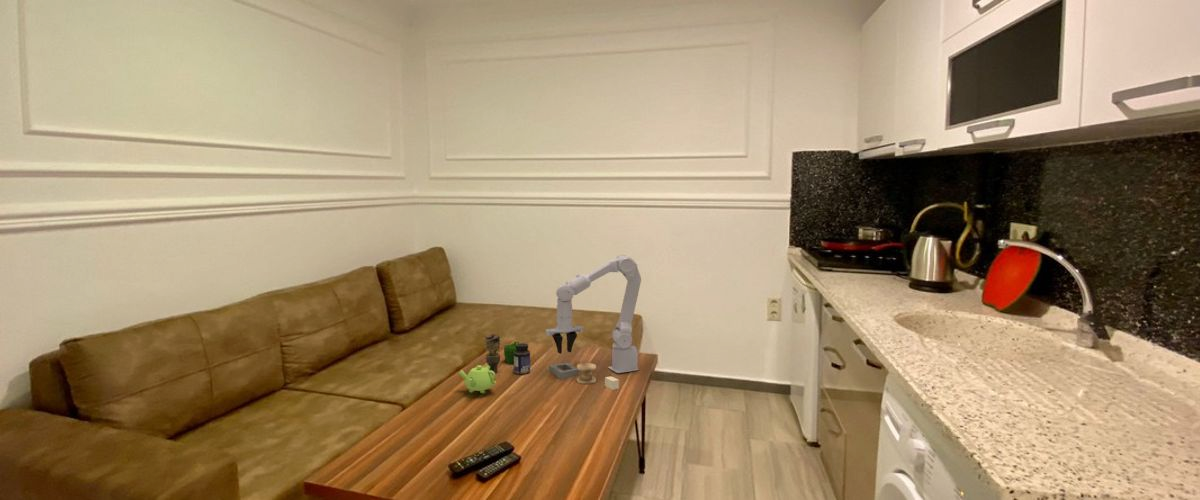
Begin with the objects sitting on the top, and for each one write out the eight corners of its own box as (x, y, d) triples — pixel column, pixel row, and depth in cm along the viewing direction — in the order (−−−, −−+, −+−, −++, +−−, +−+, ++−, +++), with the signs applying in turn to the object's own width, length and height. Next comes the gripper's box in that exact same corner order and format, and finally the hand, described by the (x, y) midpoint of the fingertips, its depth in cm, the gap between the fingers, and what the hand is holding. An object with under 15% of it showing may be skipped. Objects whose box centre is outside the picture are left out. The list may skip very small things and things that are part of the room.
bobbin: (590, 376, 192) (590, 362, 192) (599, 382, 186) (599, 367, 186) (573, 379, 189) (573, 364, 188) (582, 385, 183) (582, 369, 182)
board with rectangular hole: (568, 369, 202) (568, 362, 201) (579, 376, 193) (579, 369, 192) (549, 371, 198) (549, 365, 198) (560, 379, 189) (560, 372, 189)
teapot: (501, 391, 175) (501, 367, 175) (468, 398, 169) (468, 372, 169) (489, 382, 185) (489, 359, 184) (457, 388, 179) (457, 364, 178)
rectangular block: (610, 385, 184) (611, 376, 183) (618, 388, 180) (618, 379, 179) (604, 386, 182) (604, 377, 182) (612, 390, 178) (612, 381, 178)
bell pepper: (501, 363, 209) (501, 338, 208) (521, 360, 212) (521, 336, 212) (507, 368, 201) (507, 343, 201) (527, 366, 205) (527, 341, 204)
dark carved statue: (482, 373, 195) (481, 334, 194) (491, 370, 199) (491, 331, 198) (493, 376, 192) (493, 336, 191) (503, 372, 197) (503, 333, 196)
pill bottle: (531, 371, 199) (531, 342, 198) (528, 375, 193) (528, 347, 192) (516, 370, 199) (516, 342, 198) (512, 375, 193) (512, 346, 192)
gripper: (577, 313, 201) (577, 347, 201) (542, 316, 194) (542, 351, 195) (585, 316, 194) (585, 351, 195) (549, 320, 188) (549, 356, 188)
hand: (564, 352), depth 195 cm, fingers open, 3 cm apart
